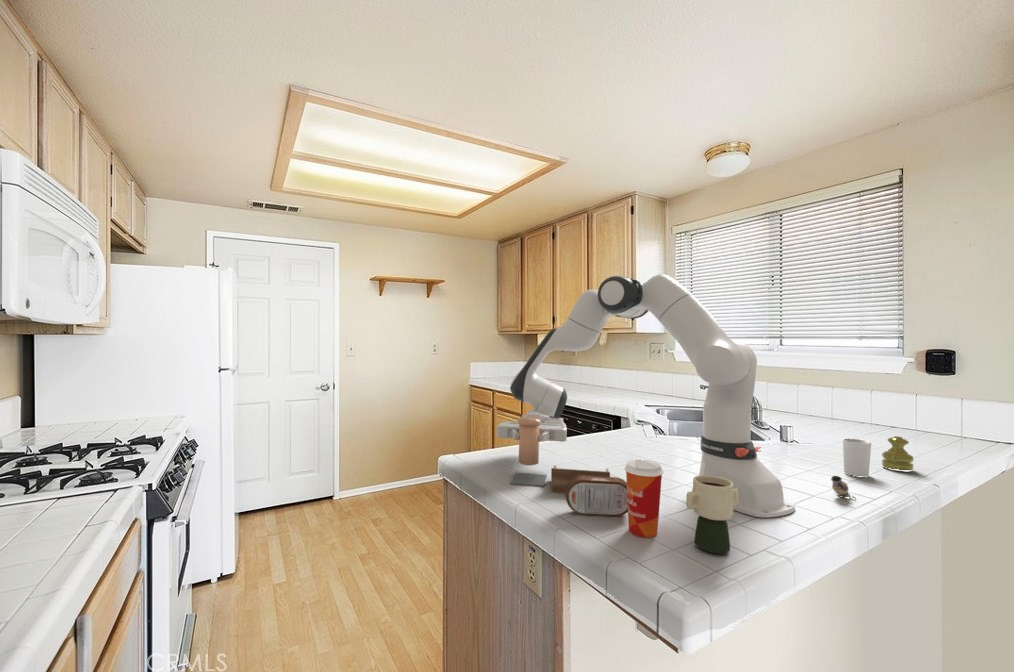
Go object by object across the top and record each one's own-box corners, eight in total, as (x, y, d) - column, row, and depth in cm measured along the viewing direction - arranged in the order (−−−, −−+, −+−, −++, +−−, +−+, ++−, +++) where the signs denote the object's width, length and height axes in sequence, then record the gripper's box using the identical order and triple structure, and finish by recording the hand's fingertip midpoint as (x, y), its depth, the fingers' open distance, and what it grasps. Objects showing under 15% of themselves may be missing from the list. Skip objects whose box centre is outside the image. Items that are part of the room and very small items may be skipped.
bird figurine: (841, 503, 111) (842, 479, 111) (821, 495, 116) (822, 473, 116) (857, 501, 112) (858, 478, 112) (837, 494, 117) (837, 471, 117)
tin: (631, 513, 103) (632, 476, 103) (634, 519, 100) (634, 481, 100) (564, 510, 104) (565, 473, 104) (565, 515, 101) (565, 478, 101)
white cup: (874, 479, 129) (875, 444, 129) (847, 476, 132) (847, 442, 131) (864, 472, 136) (865, 439, 136) (838, 470, 138) (839, 437, 138)
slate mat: (515, 473, 130) (515, 472, 130) (546, 476, 129) (546, 474, 129) (510, 484, 121) (510, 482, 121) (543, 486, 120) (543, 485, 120)
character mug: (724, 538, 91) (725, 473, 91) (750, 555, 84) (751, 485, 84) (675, 542, 89) (676, 476, 89) (697, 560, 82) (699, 489, 82)
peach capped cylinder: (544, 464, 124) (545, 420, 123) (523, 466, 121) (524, 422, 121) (533, 457, 129) (534, 416, 129) (513, 460, 127) (513, 417, 127)
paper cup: (618, 524, 97) (619, 458, 97) (653, 523, 98) (654, 458, 97) (631, 541, 89) (632, 470, 89) (669, 540, 90) (670, 469, 90)
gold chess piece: (910, 468, 141) (911, 436, 141) (916, 474, 134) (916, 440, 134) (880, 464, 145) (880, 433, 144) (883, 470, 138) (884, 437, 138)
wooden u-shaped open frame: (553, 479, 125) (554, 458, 125) (607, 483, 123) (608, 461, 123) (551, 492, 116) (551, 468, 116) (609, 496, 113) (610, 472, 113)
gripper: (501, 414, 140) (491, 424, 126) (568, 418, 136) (565, 428, 122) (500, 435, 140) (491, 446, 126) (567, 439, 136) (565, 451, 122)
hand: (528, 437), depth 124 cm, fingers closed on peach capped cylinder, 5 cm apart
